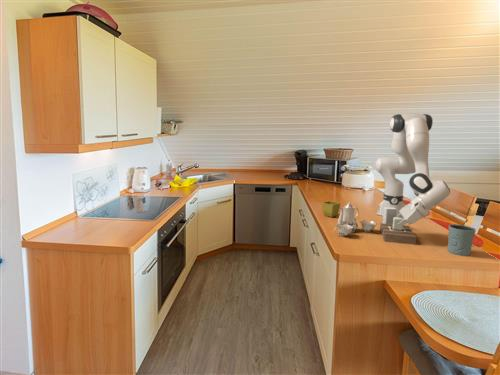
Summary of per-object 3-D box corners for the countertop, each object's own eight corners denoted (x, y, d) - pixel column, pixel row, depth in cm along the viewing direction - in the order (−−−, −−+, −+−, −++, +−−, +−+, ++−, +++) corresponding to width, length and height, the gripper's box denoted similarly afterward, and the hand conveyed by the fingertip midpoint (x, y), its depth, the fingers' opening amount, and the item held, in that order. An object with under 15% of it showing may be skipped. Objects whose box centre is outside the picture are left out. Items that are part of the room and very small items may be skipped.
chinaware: (345, 243, 158) (350, 212, 154) (321, 231, 171) (325, 202, 167) (379, 234, 173) (384, 206, 169) (354, 224, 186) (359, 197, 182)
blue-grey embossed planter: (448, 254, 141) (451, 228, 139) (443, 247, 150) (446, 223, 148) (475, 258, 137) (478, 231, 135) (468, 250, 146) (471, 225, 144)
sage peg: (391, 235, 167) (393, 217, 165) (399, 236, 166) (401, 217, 164) (392, 237, 163) (394, 218, 161) (401, 238, 162) (403, 219, 160)
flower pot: (332, 218, 198) (332, 204, 197) (320, 215, 205) (321, 202, 203) (339, 216, 204) (340, 203, 202) (328, 213, 210) (329, 200, 209)
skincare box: (391, 227, 181) (393, 207, 179) (395, 229, 177) (397, 209, 175) (381, 227, 181) (383, 207, 179) (384, 229, 177) (386, 208, 175)
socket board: (380, 230, 176) (380, 222, 175) (407, 232, 172) (408, 225, 171) (384, 241, 157) (385, 233, 156) (415, 244, 153) (416, 236, 152)
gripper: (410, 197, 169) (389, 213, 173) (419, 205, 150) (395, 223, 154) (418, 206, 169) (397, 222, 173) (428, 215, 149) (404, 233, 154)
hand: (396, 223), depth 163 cm, fingers open, 8 cm apart
